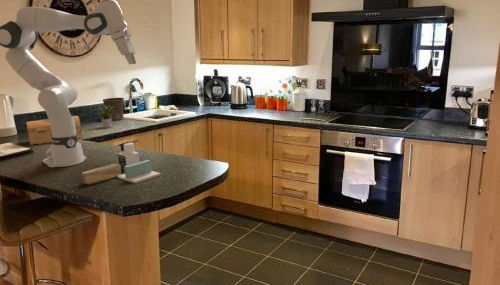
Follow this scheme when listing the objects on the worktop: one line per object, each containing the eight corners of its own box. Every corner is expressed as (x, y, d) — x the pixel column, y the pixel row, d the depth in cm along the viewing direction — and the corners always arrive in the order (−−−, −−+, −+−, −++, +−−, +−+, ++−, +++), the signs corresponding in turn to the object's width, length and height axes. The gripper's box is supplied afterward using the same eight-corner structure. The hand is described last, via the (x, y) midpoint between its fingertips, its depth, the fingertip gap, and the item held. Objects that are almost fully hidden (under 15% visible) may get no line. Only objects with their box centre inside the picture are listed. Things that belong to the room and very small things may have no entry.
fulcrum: (117, 177, 184) (116, 164, 183) (142, 170, 194) (141, 157, 192) (135, 183, 176) (133, 169, 174) (160, 175, 185) (159, 162, 184)
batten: (83, 183, 179) (82, 172, 178) (116, 173, 191) (115, 163, 190) (88, 185, 177) (86, 174, 176) (121, 175, 188) (120, 164, 187)
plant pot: (123, 120, 325) (120, 100, 321) (102, 121, 325) (99, 100, 321) (128, 117, 341) (126, 97, 337) (108, 117, 340) (106, 98, 337)
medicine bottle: (119, 167, 200) (116, 143, 197) (132, 164, 204) (130, 140, 202) (126, 170, 195) (123, 145, 192) (140, 167, 199) (137, 142, 197)
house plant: (106, 130, 291) (103, 106, 287) (91, 129, 296) (88, 106, 293) (121, 126, 303) (118, 103, 299) (106, 125, 309) (104, 103, 305)
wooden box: (79, 134, 281) (76, 114, 277) (82, 139, 267) (80, 117, 263) (29, 141, 267) (25, 119, 263) (30, 146, 253) (26, 123, 249)
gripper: (118, 38, 202) (130, 65, 205) (109, 36, 182) (122, 66, 185) (131, 33, 202) (142, 61, 205) (123, 31, 182) (136, 61, 185)
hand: (133, 64), depth 195 cm, fingers open, 8 cm apart
